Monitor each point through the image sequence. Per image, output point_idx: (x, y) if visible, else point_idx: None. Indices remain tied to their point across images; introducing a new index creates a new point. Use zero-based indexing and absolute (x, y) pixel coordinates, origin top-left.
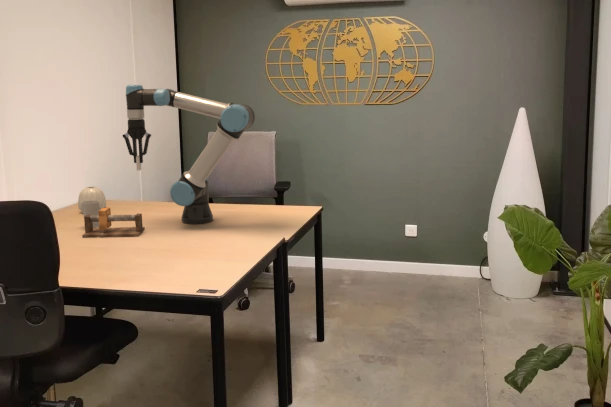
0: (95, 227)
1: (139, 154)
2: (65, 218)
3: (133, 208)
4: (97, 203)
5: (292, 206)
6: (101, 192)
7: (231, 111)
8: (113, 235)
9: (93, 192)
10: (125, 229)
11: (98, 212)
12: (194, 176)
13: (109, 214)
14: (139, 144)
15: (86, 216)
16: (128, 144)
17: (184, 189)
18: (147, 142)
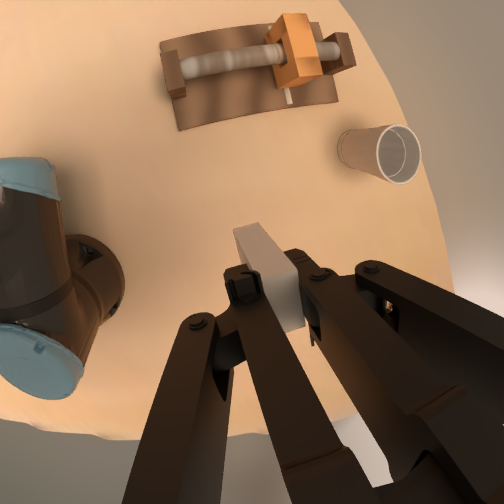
0: (341, 136)
1: (260, 298)
2: (436, 241)
3: (328, 371)
4: (374, 145)
5: (16, 418)
6: None
7: None
8: (233, 27)
9: None
10: (227, 87)
11: (304, 15)
12: None
13: (287, 66)
14: (298, 406)
15: (343, 36)
16: (470, 321)
17: None
18: (133, 472)
